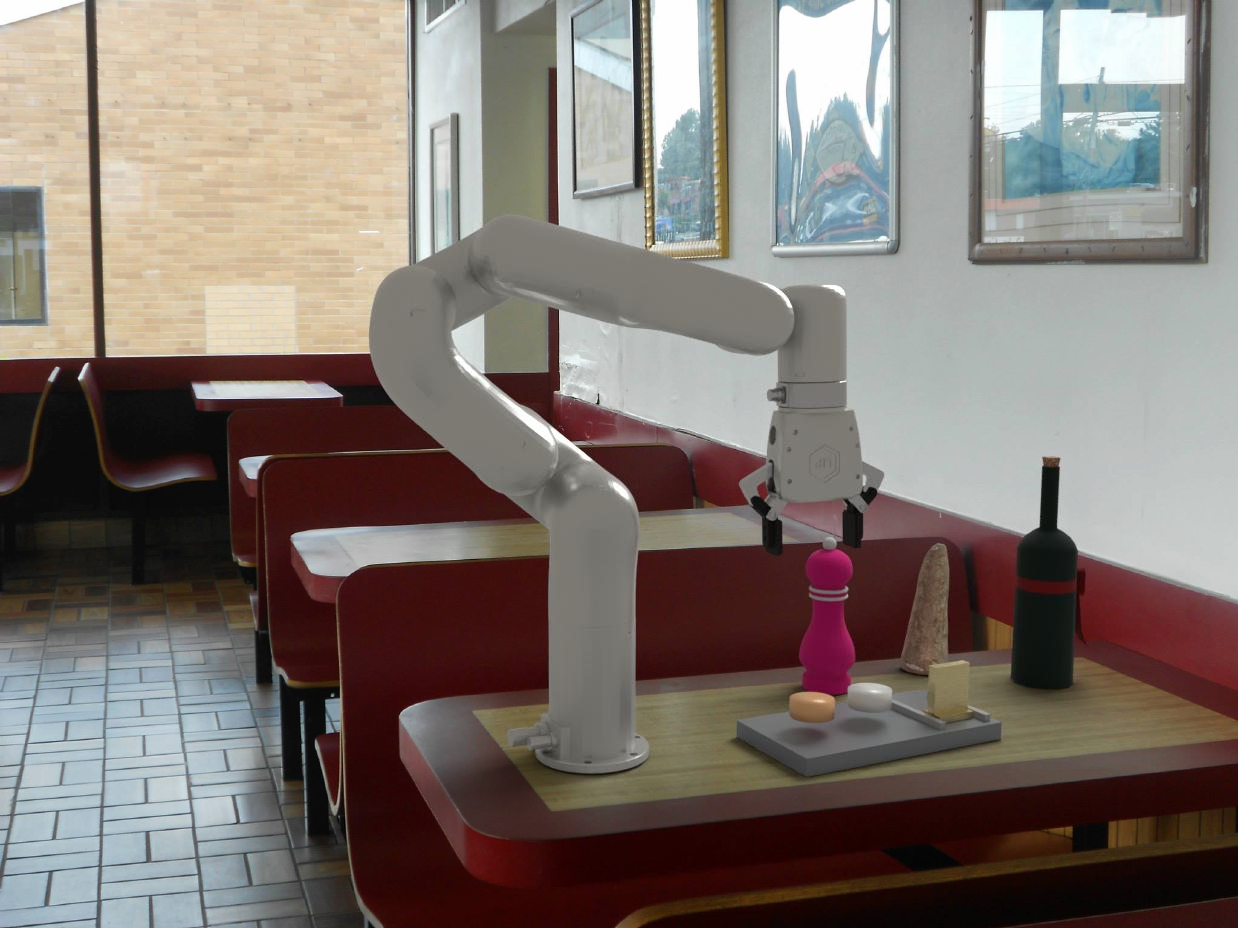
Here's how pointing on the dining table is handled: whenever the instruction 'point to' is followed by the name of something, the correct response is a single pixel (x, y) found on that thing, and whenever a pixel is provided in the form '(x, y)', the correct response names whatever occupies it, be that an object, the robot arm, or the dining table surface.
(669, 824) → the dining table surface
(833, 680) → the pepper mill
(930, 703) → the brass paddle
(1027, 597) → the wine bottle
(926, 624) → the brown speckled elongated rod
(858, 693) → the white knob
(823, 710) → the orange button
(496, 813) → the dining table surface
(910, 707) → the control panel
